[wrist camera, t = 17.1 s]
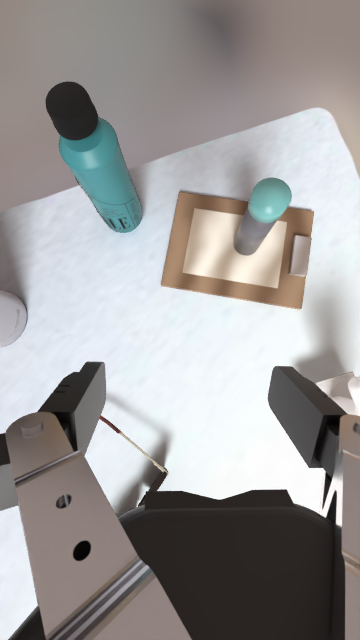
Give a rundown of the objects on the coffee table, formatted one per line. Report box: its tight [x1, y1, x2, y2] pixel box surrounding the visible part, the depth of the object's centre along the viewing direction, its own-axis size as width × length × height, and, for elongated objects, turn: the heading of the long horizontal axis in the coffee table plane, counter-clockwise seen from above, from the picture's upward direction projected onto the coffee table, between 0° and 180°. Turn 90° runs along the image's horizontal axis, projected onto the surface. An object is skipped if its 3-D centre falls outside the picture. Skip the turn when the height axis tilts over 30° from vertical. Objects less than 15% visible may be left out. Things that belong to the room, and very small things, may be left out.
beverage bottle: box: [46, 82, 142, 233], centre depth 30 cm, size 6×7×20 cm
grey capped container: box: [233, 178, 292, 256], centre depth 32 cm, size 4×4×12 cm
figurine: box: [315, 371, 360, 416], centre depth 28 cm, size 7×9×15 cm
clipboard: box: [161, 192, 314, 309], centre depth 38 cm, size 22×16×2 cm
